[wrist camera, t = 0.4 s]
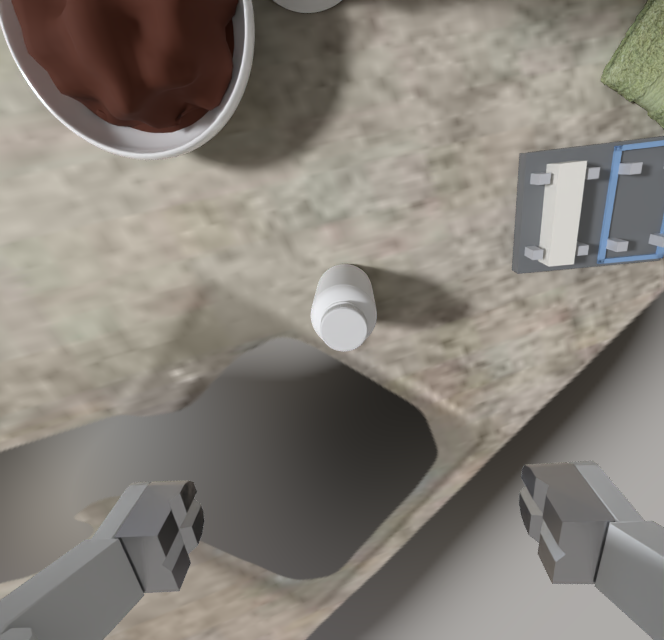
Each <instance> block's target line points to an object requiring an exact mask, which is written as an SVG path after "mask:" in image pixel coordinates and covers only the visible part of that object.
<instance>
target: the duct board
mask: <svg viewBox="0 0 664 640" xmlns="http://www.w3.org/2000/svg"><path fill="white" fill-rule="evenodd" d="M567 161H587V167H586V174H585V182H584V190H583V197H582V205H581V213H580V221H579V228H578V236H577V244H576V251H575V259H574V264H571V265H561V266H550V267H549V266H547V265H545V264H543V263H541V262H539V261H538V260H539V259H543V249H541V248H539V244H540V233H541V223H542V212H543V201H544V190H545V184H550V178H551V173H546V169H547V164H550V163H559V162H567ZM663 255H664V136H660V137H652V138H643V139H635V140H627V141H619V142H610V143H602V144H594V145H586V146H577V147H569V148H561V149H552V150H544V151H536V152H528V153H520V156H519V171H518V186H517V201H516V216H515V231H514V246H513V261H512V270H513V271H514V272H516V273H517V274H520V273H530V272H541V271H552V270H562V269H573V268H584V267H594V266H605V265H616V264H626V263H637V262H647V261H658V260H660V259H661V258H663Z"/></svg>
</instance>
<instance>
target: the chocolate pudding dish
mask: <svg viewBox="0 0 664 640" xmlns="http://www.w3.org/2000/svg"><path fill="white" fill-rule="evenodd" d="M0 24H1V28H2V31H3V34H4V37H5V39H6V42H7V45H8V47H9V49H10V52H11V54H12V56H13V58H14V60H15V62H16V64H17V66H18V68H19V70H20V72H21V73H22V75H23V77H24V78H25V80H26V81H27V83H28V85H29V86H30V88H31V89H32V90H33V92H34V93H35V94H36V96H37V97H38V98H39V100H40V101H41V102H42V103H43V104H44V105H45V107H46V108H47V109H48V110H49V111H50V112H51V113H52V114H53V115H54V116H55V117H56V118H57V119H58V120H59V121H60V122H62V123H63V124H64V125H65V126H66V127H67V128H69V129H70V130H71V131H73V132H74V133H75V134H77V135H78V136H79V137H81V138H82V139H84V140H86V141H87V142H89V143H90V144H92V145H94V146H96V147H98V148H100V149H102V150H105V151H107V152H110V153H112V154H115V155H119V156H122V157H126V158H131V159H139V160H160V159H168V158H173V157H177V156H181V155H184V154H186V153H189V152H191V151H193V150H195V149H197V148H199V147H201V146H202V145H204V144H205V143H207V142H208V141H209V140H211V139H212V138H213V137H214V136H215V135H216V134H217V133H218V132H219V131H220V130H221V129H222V128H223V127H224V126H225V125H226V123H227V122H228V121H229V119H230V118H231V117H232V115H233V114H234V112H235V110H236V109H237V107H238V105H239V103H240V101H241V99H242V97H243V94H244V92H245V89H246V86H247V83H248V80H249V76H250V72H251V68H252V62H253V56H254V45H255V22H254V10H253V3H252V0H0Z"/></svg>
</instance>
